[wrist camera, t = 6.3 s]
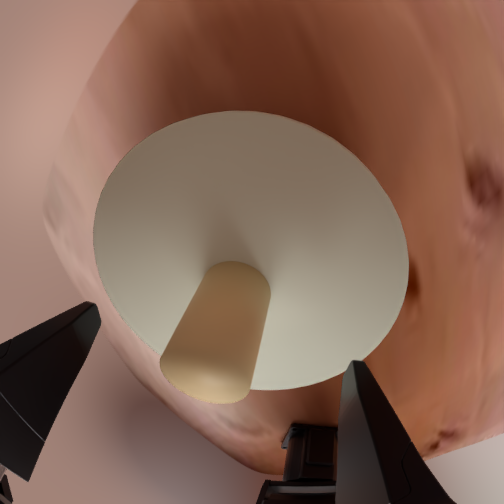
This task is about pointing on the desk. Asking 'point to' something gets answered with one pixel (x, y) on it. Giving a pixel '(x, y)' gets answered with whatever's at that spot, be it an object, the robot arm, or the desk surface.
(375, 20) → the desk surface
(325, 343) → the lid
